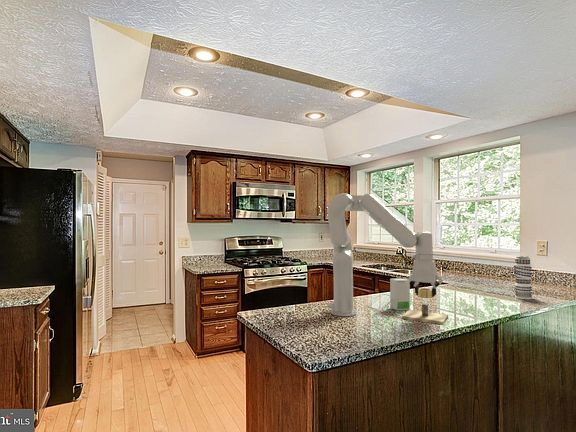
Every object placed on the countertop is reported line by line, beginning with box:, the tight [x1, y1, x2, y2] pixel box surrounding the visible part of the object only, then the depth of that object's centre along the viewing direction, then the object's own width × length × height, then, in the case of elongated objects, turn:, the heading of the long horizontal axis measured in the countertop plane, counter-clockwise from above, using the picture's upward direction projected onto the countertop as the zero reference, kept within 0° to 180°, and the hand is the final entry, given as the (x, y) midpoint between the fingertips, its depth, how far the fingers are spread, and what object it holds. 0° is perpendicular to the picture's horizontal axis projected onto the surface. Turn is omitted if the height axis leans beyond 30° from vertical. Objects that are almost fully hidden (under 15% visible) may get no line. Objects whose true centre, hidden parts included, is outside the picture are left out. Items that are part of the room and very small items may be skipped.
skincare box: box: [389, 278, 411, 311], centre depth 181 cm, size 8×7×16 cm
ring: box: [417, 287, 434, 299], centre depth 163 cm, size 7×7×4 cm
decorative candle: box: [513, 255, 533, 300], centre depth 207 cm, size 9×9×25 cm
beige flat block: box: [401, 303, 449, 325], centre depth 163 cm, size 18×14×6 cm
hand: (425, 295), depth 163 cm, fingers closed on ring, 6 cm apart
